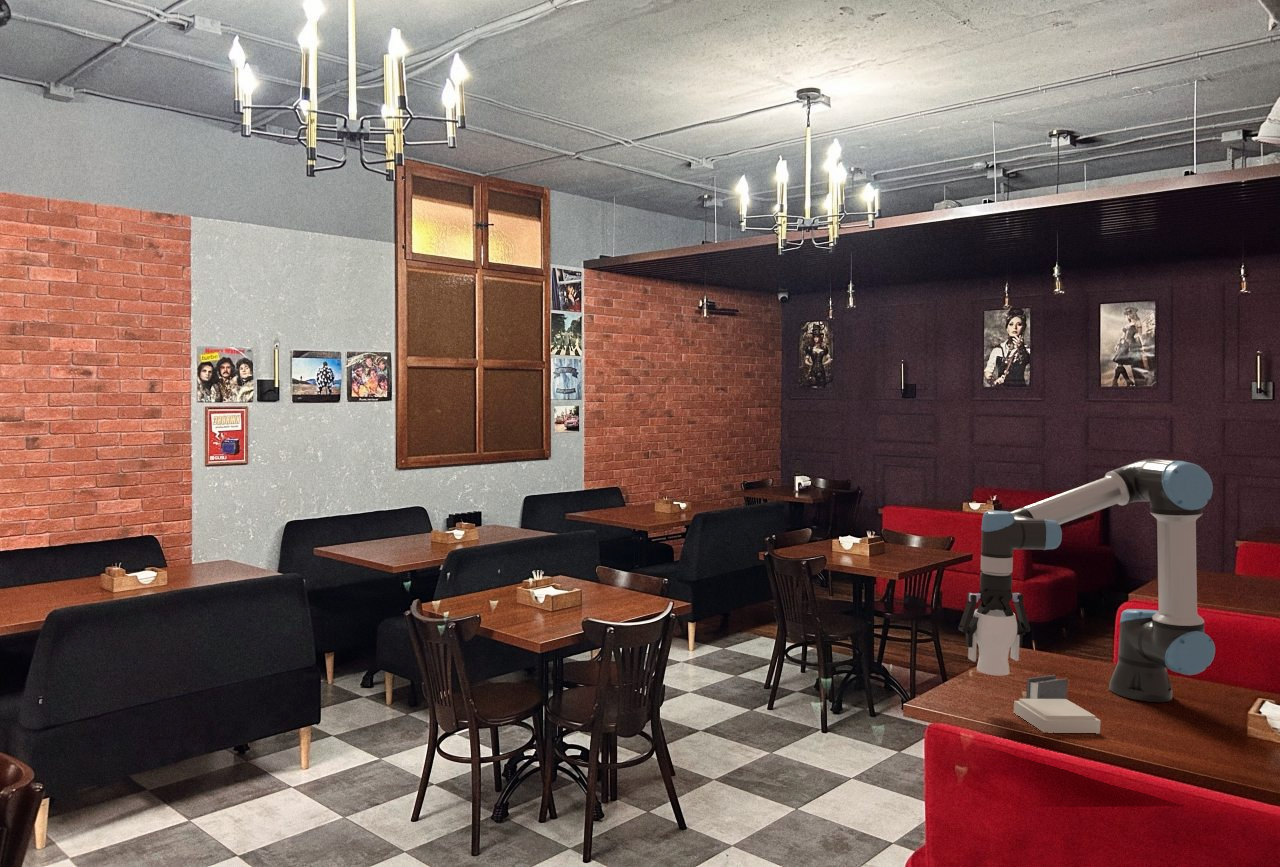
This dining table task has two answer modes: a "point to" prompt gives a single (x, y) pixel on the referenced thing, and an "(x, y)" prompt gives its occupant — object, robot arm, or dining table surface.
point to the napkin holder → (1046, 688)
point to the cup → (995, 641)
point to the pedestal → (1057, 716)
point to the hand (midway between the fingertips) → (993, 659)
